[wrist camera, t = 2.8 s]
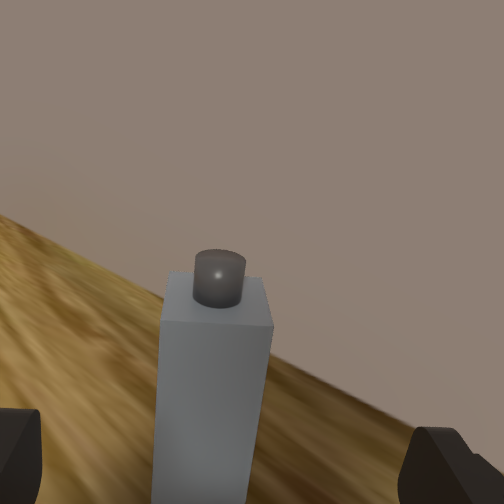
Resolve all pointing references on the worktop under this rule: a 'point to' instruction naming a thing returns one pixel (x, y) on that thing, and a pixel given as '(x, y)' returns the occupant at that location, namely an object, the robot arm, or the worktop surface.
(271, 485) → the worktop surface
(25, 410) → the robot arm
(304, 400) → the worktop surface
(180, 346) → the grey-blue square bottle
